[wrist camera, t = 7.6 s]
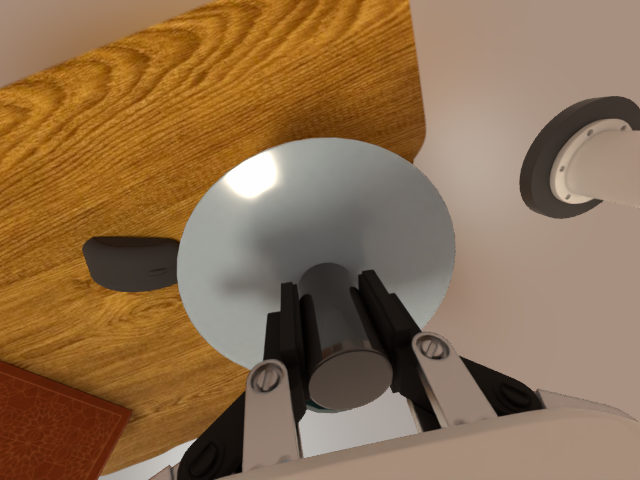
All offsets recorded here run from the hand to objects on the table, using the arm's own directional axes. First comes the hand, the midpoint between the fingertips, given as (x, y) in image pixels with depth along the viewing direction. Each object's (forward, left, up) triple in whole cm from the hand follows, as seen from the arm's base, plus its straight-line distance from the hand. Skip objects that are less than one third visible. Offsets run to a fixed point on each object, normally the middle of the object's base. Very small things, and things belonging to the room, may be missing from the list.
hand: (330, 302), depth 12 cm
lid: (0, 0, -2) cm, 2 cm away
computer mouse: (+23, +6, -22) cm, 32 cm away
